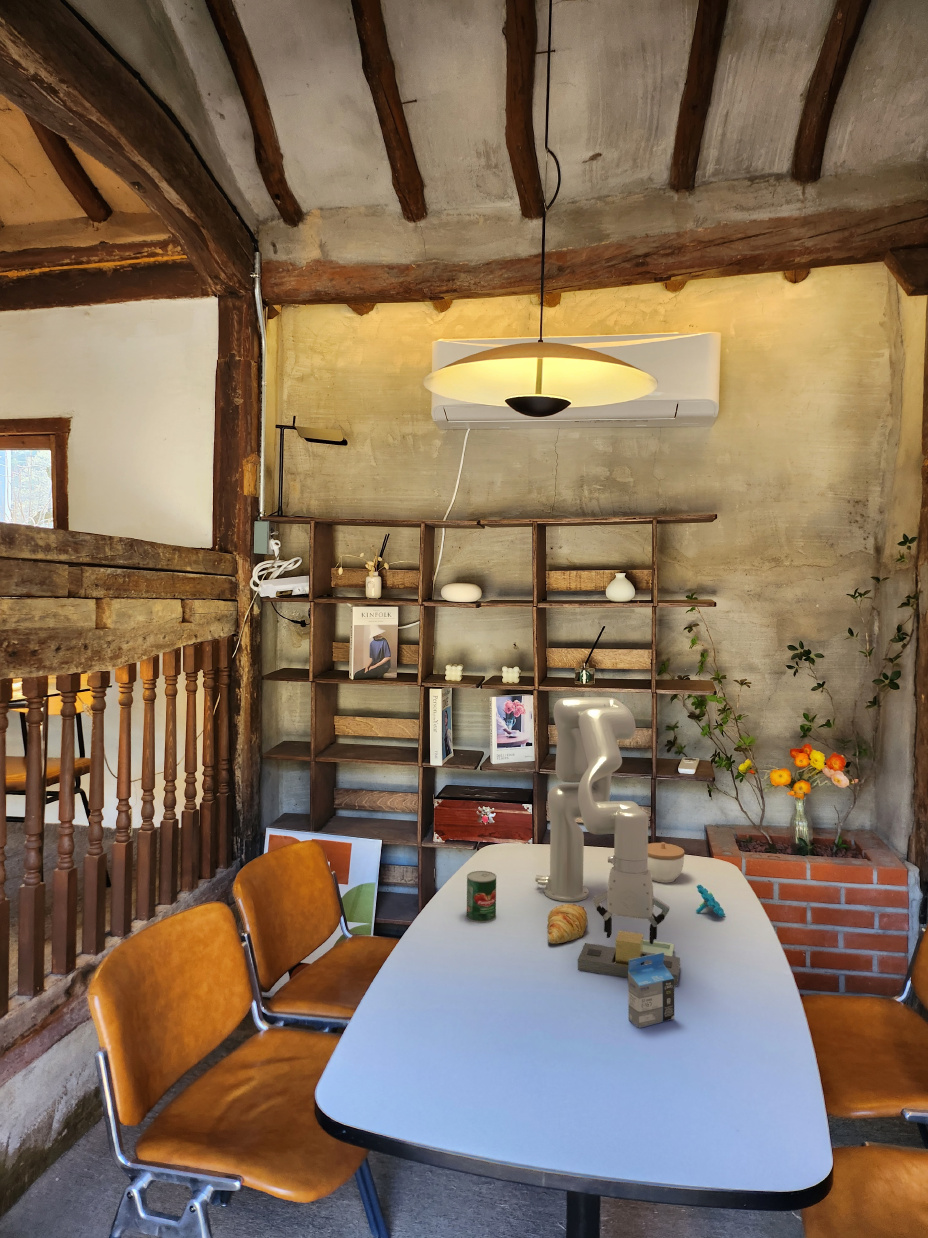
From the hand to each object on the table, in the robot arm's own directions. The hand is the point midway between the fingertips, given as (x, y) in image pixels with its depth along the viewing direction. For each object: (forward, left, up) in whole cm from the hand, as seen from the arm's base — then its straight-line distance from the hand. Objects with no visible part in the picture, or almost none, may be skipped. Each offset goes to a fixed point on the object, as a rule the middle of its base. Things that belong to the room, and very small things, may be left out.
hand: (630, 939), depth 180 cm
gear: (+16, +41, -8) cm, 45 cm away
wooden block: (0, 0, -7) cm, 7 cm away
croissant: (-18, +16, -8) cm, 25 cm away
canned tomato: (-41, +17, -8) cm, 45 cm away
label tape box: (+7, -20, -8) cm, 23 cm away
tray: (+3, +10, -7) cm, 13 cm away
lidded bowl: (+2, +64, -8) cm, 64 cm away
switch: (0, 0, -7) cm, 7 cm away
